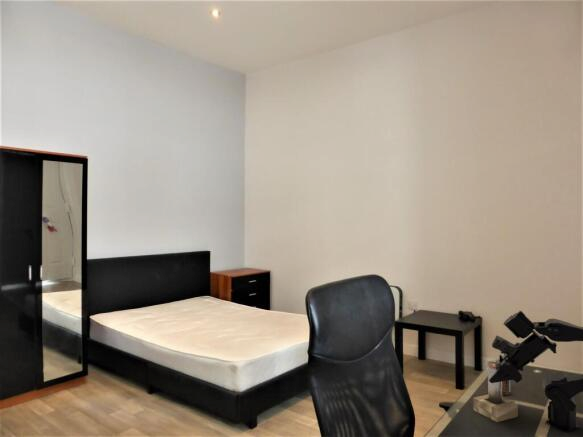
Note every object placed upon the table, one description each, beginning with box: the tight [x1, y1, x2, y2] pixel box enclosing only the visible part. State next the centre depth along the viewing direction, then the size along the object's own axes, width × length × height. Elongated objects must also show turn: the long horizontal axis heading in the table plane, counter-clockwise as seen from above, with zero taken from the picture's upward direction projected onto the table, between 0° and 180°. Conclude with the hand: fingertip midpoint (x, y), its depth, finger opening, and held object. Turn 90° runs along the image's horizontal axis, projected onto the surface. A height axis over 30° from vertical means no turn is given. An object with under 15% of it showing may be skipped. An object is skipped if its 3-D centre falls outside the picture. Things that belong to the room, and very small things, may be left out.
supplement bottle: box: [495, 359, 512, 396], centre depth 150 cm, size 6×6×11 cm
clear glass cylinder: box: [486, 360, 503, 405], centre depth 133 cm, size 4×4×12 cm
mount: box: [472, 394, 519, 423], centre depth 133 cm, size 9×9×4 cm
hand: (490, 379), depth 134 cm, fingers closed on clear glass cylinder, 4 cm apart
